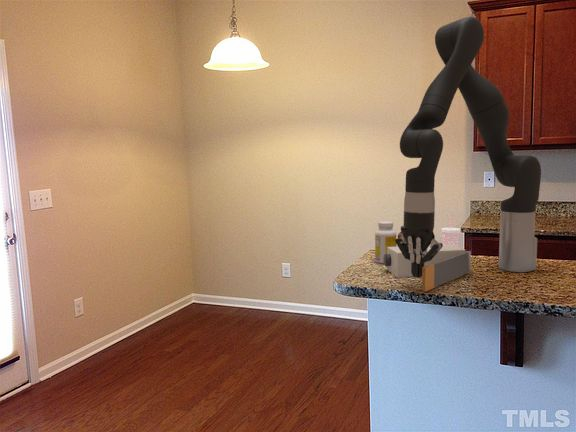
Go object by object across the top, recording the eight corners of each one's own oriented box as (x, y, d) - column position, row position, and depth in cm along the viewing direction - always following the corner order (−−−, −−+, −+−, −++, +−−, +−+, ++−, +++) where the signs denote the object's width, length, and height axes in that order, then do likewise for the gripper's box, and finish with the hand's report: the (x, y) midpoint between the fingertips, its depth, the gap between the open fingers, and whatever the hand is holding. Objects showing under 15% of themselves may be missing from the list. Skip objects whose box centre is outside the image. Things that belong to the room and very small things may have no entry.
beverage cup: (442, 252, 173) (443, 212, 171) (460, 254, 170) (461, 213, 168) (439, 256, 167) (440, 214, 166) (458, 257, 165) (459, 215, 163)
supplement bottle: (399, 261, 162) (399, 221, 160) (391, 265, 157) (392, 224, 155) (379, 259, 166) (379, 220, 164) (371, 263, 160) (371, 223, 158)
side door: (466, 271, 145) (467, 250, 144) (471, 272, 144) (471, 251, 143) (421, 290, 126) (421, 267, 125) (425, 291, 125) (426, 267, 125)
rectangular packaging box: (450, 266, 153) (451, 241, 152) (464, 273, 144) (465, 247, 143) (383, 270, 150) (383, 244, 149) (393, 277, 141) (393, 250, 140)
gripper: (450, 210, 125) (448, 278, 127) (405, 206, 134) (403, 270, 136) (435, 213, 119) (432, 284, 122) (388, 208, 129) (387, 274, 131)
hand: (417, 276), depth 129 cm, fingers closed
